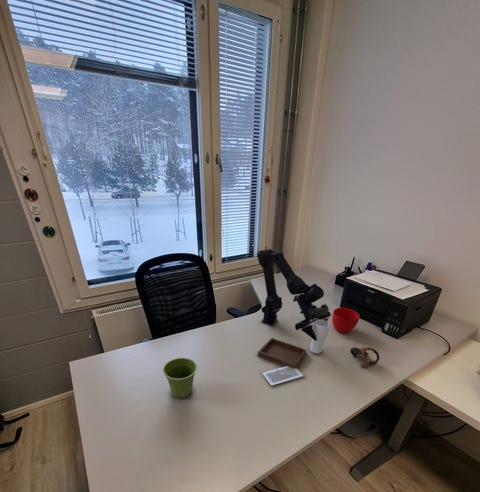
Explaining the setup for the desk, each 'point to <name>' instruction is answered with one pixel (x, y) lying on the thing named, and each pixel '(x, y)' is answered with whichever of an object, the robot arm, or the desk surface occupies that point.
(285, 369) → the touchpad
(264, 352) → the tray
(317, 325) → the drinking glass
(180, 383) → the plant pot
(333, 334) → the desk surface
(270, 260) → the robot arm
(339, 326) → the ceramic cup
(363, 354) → the pottery mug
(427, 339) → the desk surface
